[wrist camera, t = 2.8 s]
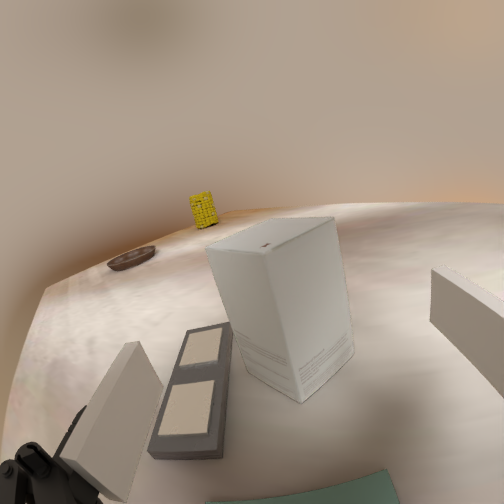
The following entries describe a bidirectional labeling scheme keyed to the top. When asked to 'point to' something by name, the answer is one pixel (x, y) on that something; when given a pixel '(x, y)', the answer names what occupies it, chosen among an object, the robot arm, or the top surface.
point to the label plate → (195, 398)
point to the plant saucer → (131, 258)
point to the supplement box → (286, 301)
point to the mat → (339, 493)
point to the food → (203, 209)
